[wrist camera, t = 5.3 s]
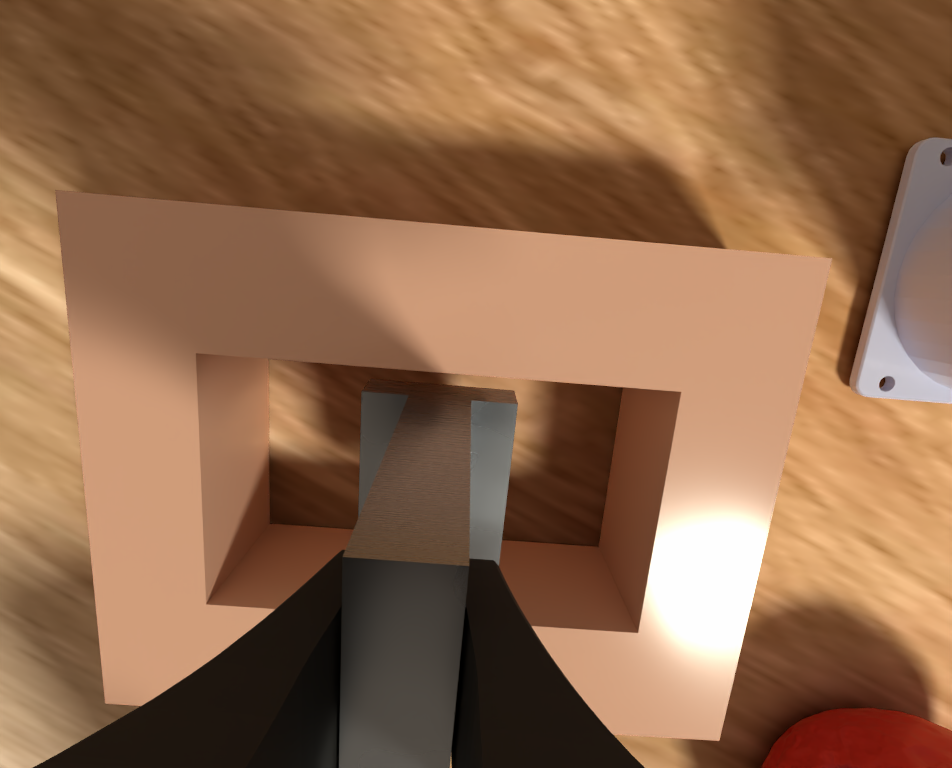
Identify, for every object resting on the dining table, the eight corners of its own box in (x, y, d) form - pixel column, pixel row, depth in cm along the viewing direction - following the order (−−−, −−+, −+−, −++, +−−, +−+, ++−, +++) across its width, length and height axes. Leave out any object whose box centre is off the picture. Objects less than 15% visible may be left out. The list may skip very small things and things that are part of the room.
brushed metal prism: (514, 390, 14) (563, 573, 6) (496, 545, 16) (519, 848, 8) (371, 378, 14) (245, 549, 6) (366, 536, 15) (258, 833, 8)
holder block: (734, 260, 16) (832, 258, 12) (663, 634, 19) (719, 741, 15) (170, 211, 16) (55, 189, 11) (189, 602, 19) (105, 703, 15)
